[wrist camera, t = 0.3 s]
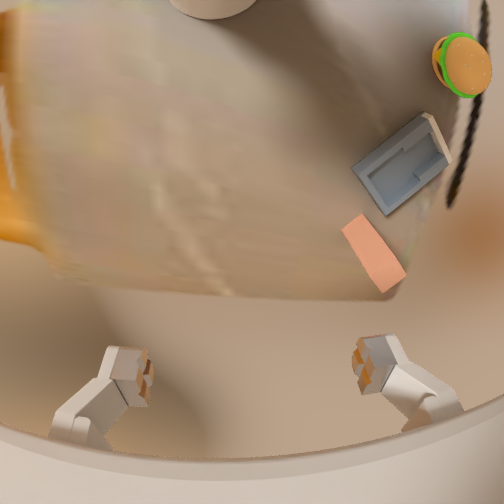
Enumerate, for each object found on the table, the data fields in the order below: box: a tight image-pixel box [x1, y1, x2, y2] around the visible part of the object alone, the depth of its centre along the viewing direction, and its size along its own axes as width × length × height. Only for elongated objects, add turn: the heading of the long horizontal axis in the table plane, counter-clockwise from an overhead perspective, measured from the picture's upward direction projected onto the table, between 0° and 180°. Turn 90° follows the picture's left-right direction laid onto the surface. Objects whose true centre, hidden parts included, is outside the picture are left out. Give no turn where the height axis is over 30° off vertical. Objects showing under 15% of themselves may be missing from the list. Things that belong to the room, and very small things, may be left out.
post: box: [341, 214, 407, 293], centre depth 51 cm, size 5×5×14 cm
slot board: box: [351, 112, 453, 216], centre depth 48 cm, size 17×10×3 cm, turn 132°
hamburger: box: [432, 32, 492, 98], centre depth 35 cm, size 12×12×9 cm
